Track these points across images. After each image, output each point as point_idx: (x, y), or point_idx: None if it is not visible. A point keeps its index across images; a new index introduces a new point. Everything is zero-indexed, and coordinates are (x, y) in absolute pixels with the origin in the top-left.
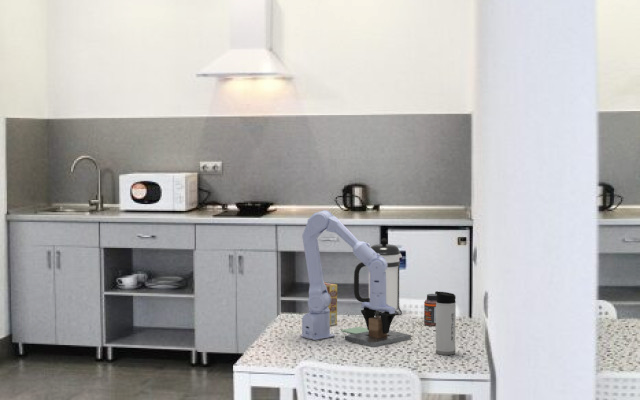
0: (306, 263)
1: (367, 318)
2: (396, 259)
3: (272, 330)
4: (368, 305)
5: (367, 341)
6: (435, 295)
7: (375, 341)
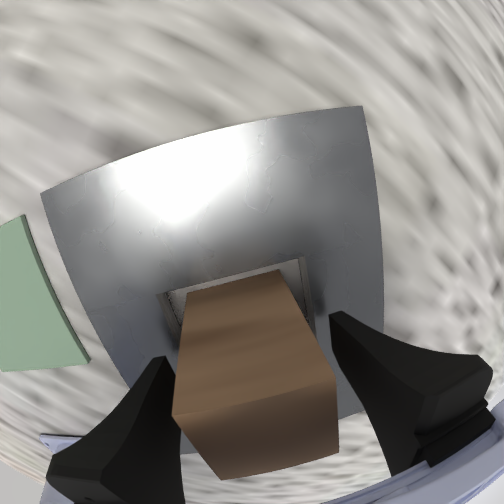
0: None
1: (176, 466)
2: None
3: (19, 471)
4: None
5: (340, 418)
6: None
7: None
